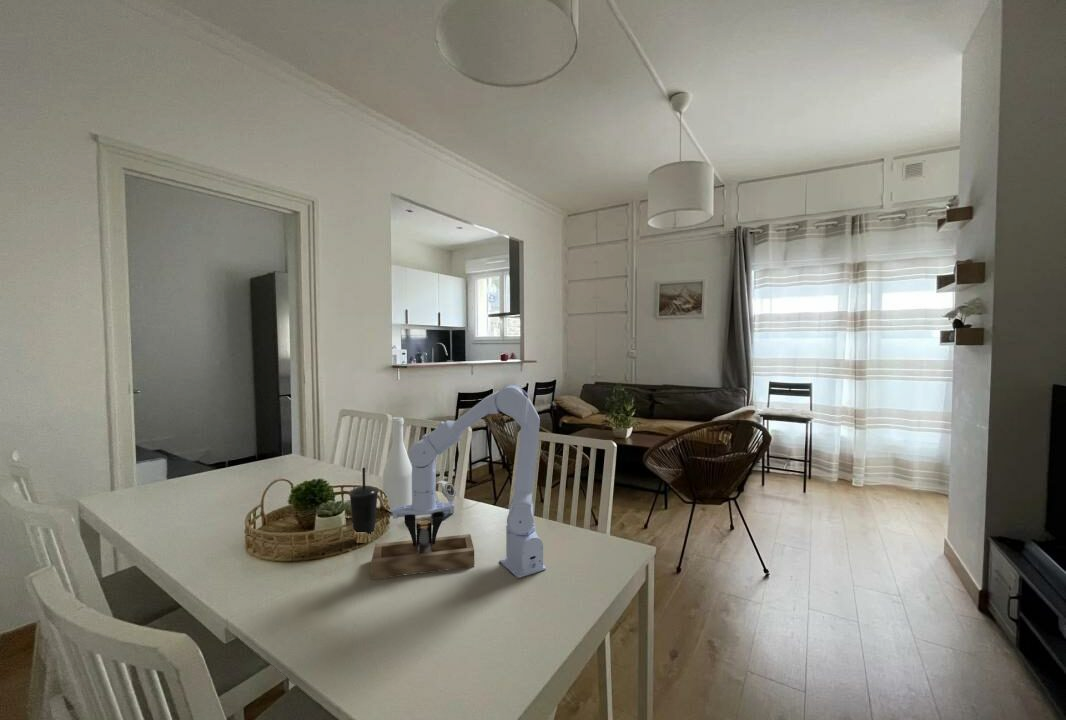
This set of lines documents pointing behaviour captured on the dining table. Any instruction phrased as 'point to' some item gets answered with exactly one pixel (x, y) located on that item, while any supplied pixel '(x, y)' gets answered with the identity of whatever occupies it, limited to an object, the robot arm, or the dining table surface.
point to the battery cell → (424, 537)
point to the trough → (422, 556)
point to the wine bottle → (398, 470)
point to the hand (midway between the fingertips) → (424, 543)
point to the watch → (448, 493)
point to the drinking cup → (364, 506)
